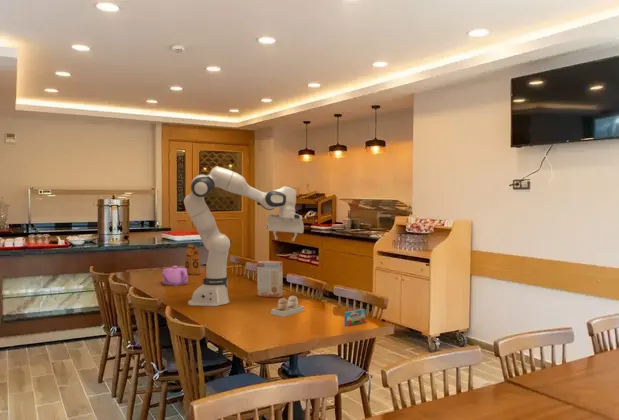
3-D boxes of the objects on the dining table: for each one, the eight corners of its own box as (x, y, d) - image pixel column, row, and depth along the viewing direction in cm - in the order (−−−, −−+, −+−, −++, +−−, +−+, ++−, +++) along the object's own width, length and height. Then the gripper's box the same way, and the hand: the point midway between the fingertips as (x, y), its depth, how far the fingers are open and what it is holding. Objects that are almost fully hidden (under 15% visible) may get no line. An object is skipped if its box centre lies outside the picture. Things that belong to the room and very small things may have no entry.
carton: (283, 318, 248) (283, 311, 248) (271, 315, 253) (271, 309, 253) (304, 312, 260) (304, 306, 260) (292, 310, 266) (292, 304, 266)
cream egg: (288, 312, 257) (288, 296, 257) (287, 310, 262) (287, 294, 262) (298, 312, 258) (298, 296, 257) (297, 310, 263) (297, 294, 262)
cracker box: (282, 296, 301) (283, 261, 301) (279, 298, 296) (279, 262, 295) (261, 294, 306) (261, 260, 305) (257, 296, 300) (257, 261, 300)
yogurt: (346, 326, 234) (346, 312, 234) (344, 325, 235) (344, 312, 235) (365, 322, 241) (365, 309, 241) (363, 321, 242) (363, 308, 242)
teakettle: (188, 285, 335) (188, 267, 335) (161, 286, 331) (161, 267, 331) (188, 281, 352) (187, 263, 351) (162, 282, 348) (162, 264, 347)
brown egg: (278, 315, 251) (278, 299, 251) (277, 313, 256) (277, 297, 256) (288, 315, 252) (288, 299, 252) (287, 312, 257) (287, 297, 257)
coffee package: (189, 275, 377) (189, 246, 376) (183, 273, 387) (183, 244, 386) (202, 274, 382) (202, 245, 382) (196, 272, 393) (195, 243, 392)
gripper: (267, 213, 282) (265, 238, 280) (304, 216, 281) (302, 241, 279) (268, 214, 288) (266, 239, 286) (305, 217, 287) (302, 242, 286)
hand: (284, 240), depth 283 cm, fingers open, 8 cm apart
